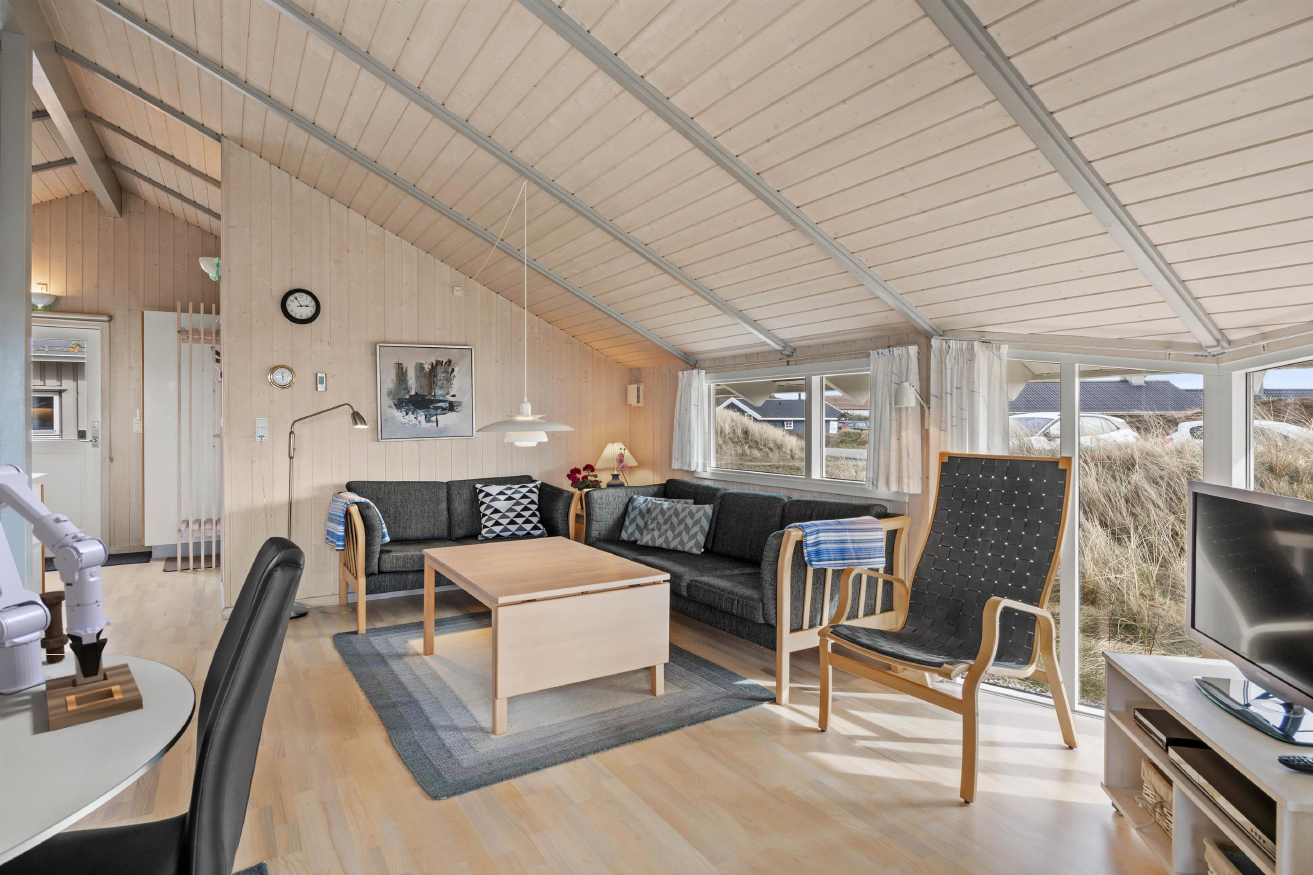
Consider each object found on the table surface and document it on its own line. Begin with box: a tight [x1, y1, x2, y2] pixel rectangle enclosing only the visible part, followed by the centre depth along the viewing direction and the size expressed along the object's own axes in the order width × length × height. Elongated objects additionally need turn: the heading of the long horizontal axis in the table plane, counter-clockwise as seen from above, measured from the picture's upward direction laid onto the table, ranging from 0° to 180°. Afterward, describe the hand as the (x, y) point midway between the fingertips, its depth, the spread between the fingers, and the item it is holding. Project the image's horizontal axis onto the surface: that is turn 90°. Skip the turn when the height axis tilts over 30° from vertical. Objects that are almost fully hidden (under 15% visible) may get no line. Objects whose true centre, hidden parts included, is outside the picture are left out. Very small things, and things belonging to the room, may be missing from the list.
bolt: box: [38, 590, 70, 664], centre depth 157 cm, size 6×5×15 cm
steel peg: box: [73, 652, 104, 687], centre depth 140 cm, size 4×4×8 cm
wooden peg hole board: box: [44, 662, 144, 732], centre depth 136 cm, size 24×13×2 cm, turn 42°
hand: (89, 671), depth 140 cm, fingers open, 7 cm apart
